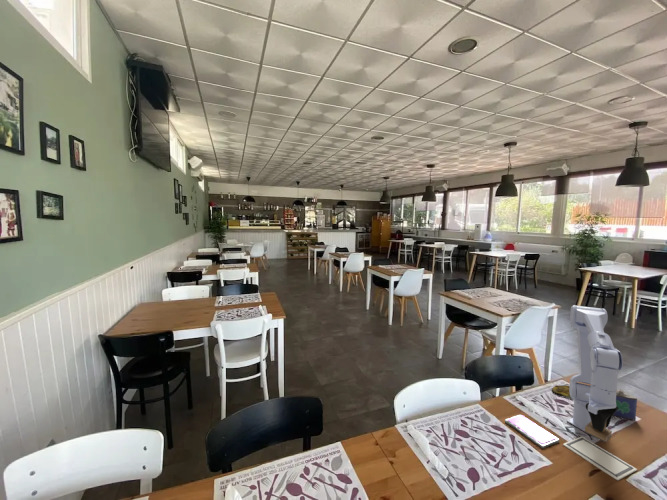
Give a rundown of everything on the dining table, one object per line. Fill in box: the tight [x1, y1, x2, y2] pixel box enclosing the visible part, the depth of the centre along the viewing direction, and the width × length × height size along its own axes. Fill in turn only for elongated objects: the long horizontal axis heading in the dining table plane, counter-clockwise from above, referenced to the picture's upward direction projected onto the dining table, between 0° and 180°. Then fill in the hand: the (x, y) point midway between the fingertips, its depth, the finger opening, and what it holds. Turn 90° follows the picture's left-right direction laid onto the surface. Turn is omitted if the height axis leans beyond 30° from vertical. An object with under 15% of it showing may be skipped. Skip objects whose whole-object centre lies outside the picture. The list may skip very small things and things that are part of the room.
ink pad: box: [504, 414, 560, 449], centre depth 98 cm, size 8×13×1 cm, turn 20°
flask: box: [612, 389, 638, 422], centre depth 106 cm, size 9×3×11 cm, turn 61°
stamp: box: [584, 422, 613, 443], centre depth 87 cm, size 5×5×6 cm
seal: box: [551, 384, 573, 400], centre depth 122 cm, size 9×5×15 cm
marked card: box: [562, 436, 638, 481], centre depth 87 cm, size 10×14×1 cm
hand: (600, 427), depth 87 cm, fingers closed on stamp, 3 cm apart
